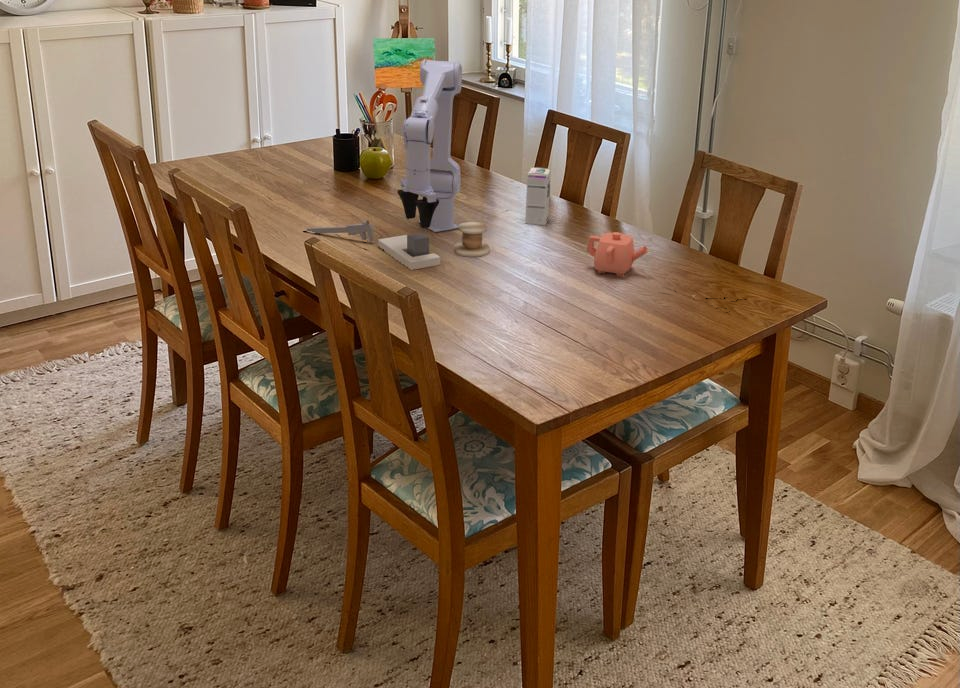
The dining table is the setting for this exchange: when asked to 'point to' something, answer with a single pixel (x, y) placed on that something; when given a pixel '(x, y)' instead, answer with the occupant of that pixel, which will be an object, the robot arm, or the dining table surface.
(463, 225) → the bobbin
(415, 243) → the block
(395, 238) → the notched board
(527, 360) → the dining table surface
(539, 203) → the syrup box
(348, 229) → the caliper
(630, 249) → the teapot
